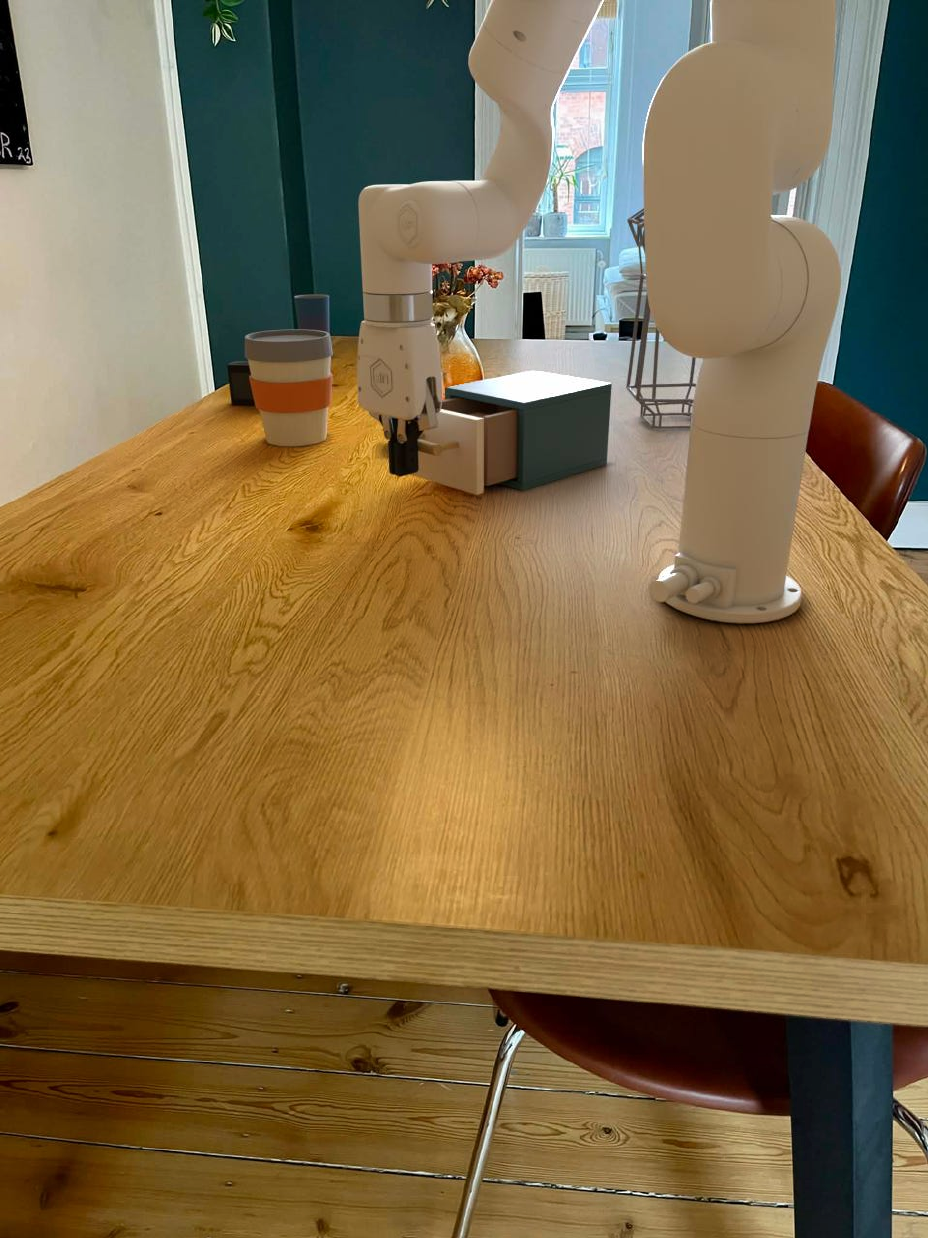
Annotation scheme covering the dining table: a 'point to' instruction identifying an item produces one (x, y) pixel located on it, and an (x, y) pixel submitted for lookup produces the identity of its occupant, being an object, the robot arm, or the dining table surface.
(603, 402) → the cabinet
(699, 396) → the robot arm
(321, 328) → the cup
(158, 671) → the dining table surface
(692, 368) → the geometric lantern
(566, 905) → the dining table surface
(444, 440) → the drawer
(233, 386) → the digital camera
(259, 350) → the reusable coffee cup
